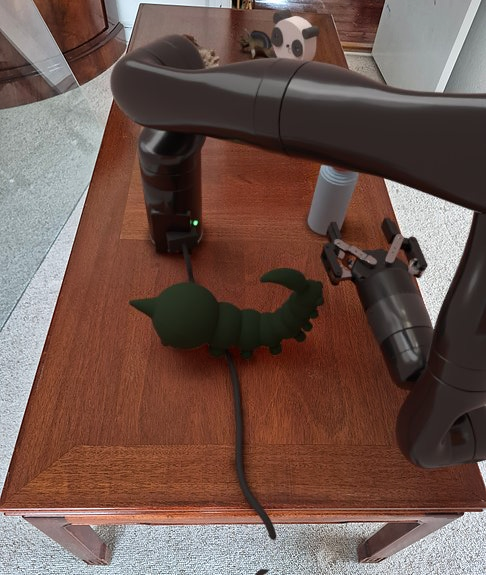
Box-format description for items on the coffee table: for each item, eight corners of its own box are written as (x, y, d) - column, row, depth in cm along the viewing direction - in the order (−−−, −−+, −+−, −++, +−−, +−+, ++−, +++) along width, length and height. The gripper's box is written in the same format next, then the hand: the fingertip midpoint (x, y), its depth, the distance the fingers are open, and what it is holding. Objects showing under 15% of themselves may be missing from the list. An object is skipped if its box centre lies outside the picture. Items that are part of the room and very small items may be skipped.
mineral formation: (217, 107, 103) (230, 62, 98) (145, 83, 99) (155, 34, 94) (212, 85, 122) (224, 46, 116) (152, 64, 117) (161, 22, 112)
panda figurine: (255, 78, 114) (260, 13, 102) (289, 66, 118) (298, 2, 106) (286, 102, 108) (296, 36, 96) (321, 88, 113) (334, 24, 101)
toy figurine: (293, 324, 74) (136, 306, 71) (329, 247, 59) (131, 222, 56) (295, 378, 68) (125, 361, 66) (335, 309, 53) (117, 283, 51)
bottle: (343, 236, 84) (369, 162, 70) (308, 234, 84) (328, 160, 70) (339, 211, 88) (363, 137, 74) (306, 209, 87) (324, 134, 74)
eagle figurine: (236, 57, 117) (271, 55, 115) (236, 25, 115) (272, 23, 113) (243, 60, 124) (276, 59, 122) (242, 30, 122) (276, 29, 120)
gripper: (456, 289, 59) (410, 202, 69) (350, 300, 57) (318, 208, 67) (433, 320, 65) (394, 236, 75) (337, 331, 63) (309, 243, 73)
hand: (358, 223), depth 71 cm, fingers open, 8 cm apart
